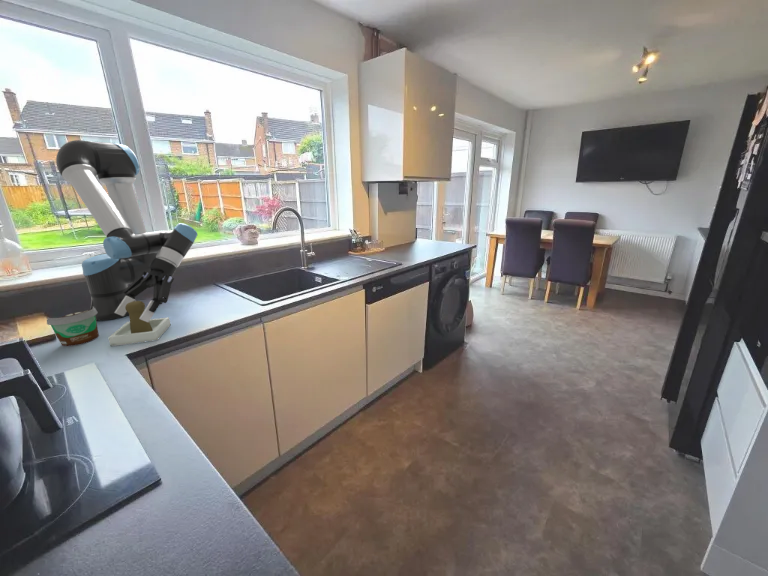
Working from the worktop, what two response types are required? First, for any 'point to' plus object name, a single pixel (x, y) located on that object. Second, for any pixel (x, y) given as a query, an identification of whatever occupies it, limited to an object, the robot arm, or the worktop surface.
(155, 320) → the tray
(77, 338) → the food container
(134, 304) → the pepper mill
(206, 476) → the worktop surface
